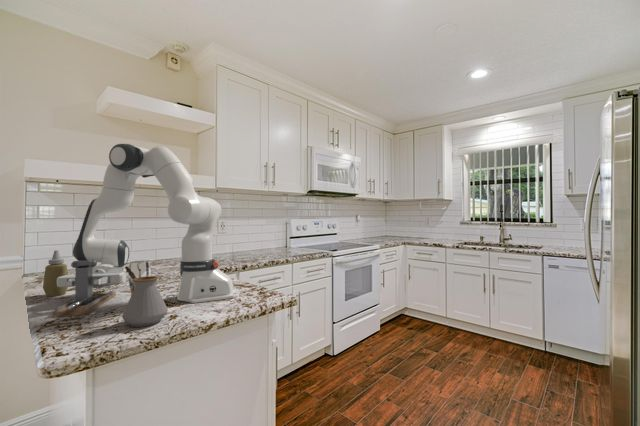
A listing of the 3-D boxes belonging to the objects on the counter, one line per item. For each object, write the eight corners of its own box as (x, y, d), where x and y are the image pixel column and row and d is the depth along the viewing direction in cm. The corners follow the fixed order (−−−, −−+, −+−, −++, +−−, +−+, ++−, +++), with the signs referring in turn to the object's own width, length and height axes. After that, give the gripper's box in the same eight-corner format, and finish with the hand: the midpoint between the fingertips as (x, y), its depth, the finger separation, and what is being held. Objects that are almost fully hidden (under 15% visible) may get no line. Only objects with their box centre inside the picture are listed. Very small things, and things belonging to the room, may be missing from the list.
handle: (99, 299, 106) (99, 259, 106) (83, 309, 94) (83, 263, 95) (75, 301, 104) (75, 260, 104) (55, 311, 92) (55, 265, 93)
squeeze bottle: (42, 294, 121) (43, 250, 122) (68, 291, 127) (68, 249, 127) (42, 298, 115) (42, 252, 116) (69, 294, 121) (69, 250, 121)
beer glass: (140, 306, 103) (140, 263, 103) (123, 305, 104) (123, 262, 105) (155, 301, 110) (155, 260, 110) (139, 300, 111) (139, 260, 112)
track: (115, 295, 118) (115, 289, 118) (86, 314, 95) (86, 306, 95) (89, 297, 116) (89, 291, 116) (52, 317, 93) (52, 309, 93)
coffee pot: (174, 320, 88) (174, 270, 88) (131, 332, 79) (131, 276, 79) (144, 308, 101) (144, 263, 102) (104, 317, 92) (104, 268, 93)
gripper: (68, 269, 112) (46, 276, 99) (130, 266, 118) (116, 272, 105) (68, 286, 112) (46, 295, 99) (130, 282, 118) (116, 290, 104)
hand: (82, 283), depth 102 cm, fingers open, 6 cm apart
